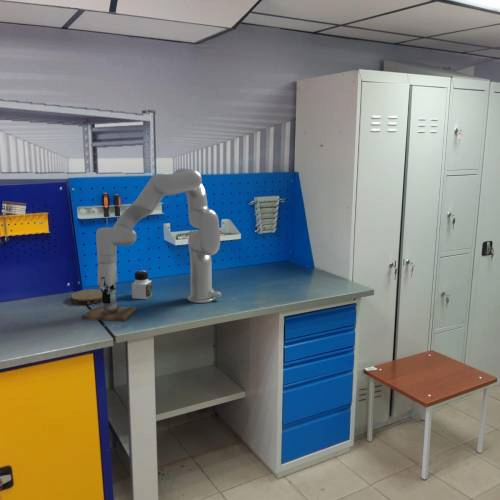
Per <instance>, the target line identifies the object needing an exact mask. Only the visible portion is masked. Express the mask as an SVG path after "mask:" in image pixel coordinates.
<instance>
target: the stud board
mask: <svg viewBox="0 0 500 500" xmlns="http://www.w3.org/2000/svg"><path fill="white" fill-rule="evenodd" d="M137 310H138V307H137V306H136V307H134V306H118V301H117V300H116V303H114V304H104V303H103V302H102V303H101V305H95V306H93V308H91V309H89V311H87V312H86V313H84V314H83V315H81V319H82V320H93V321H94V320H95V321H114V320H116V322H118V321H119V322H126V321H127V320H128V319H129V318H130V317H131V316H132V315H133V314H134V313H136V311H137Z"/></svg>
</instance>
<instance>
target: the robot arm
mask: <svg viewBox="0 0 500 500" xmlns="http://www.w3.org/2000/svg"><path fill="white" fill-rule="evenodd" d="M202 178H203V177H202V175H201V174H200V172H199V171H197V170H195V169H192V168H191V169H190V168H185V167H183V168H177V169H175V171H174V172H173V173H169V174H167V173H166V174H165V173H156V174H153V175H152V176H151V178H150V179H149V180H148V182H147V183H146V185H145V186H144V188H143V189H142V191H141V192H140V193H139V195H138V196H137V198H136V199H135V200H134V202H132V204H130V205H129V206H128V207H127V208H126V209H125V210H124V211H123V212H122V213H121V215H120V216H119V217H118V219H117V220H116V222H115V223H114V224H113V226H112V227H100V228H98V229H97V230H96V232H95V235H96V239H95V240H96V251H97V255H96V256H97V287H99V290H101V292H102V301H103V303H106V304H110V303H111V301H110V294H109V289H115V290H117V282H118V268H117V262H118V258H117V246H126V247H127V246H131V245H133V244H134V243H135V242H136V240H137V233H136V231H135V230H134V227H135V226H136V225H137V223H138V222H139V221H140V220H142V219H144V218H146V217H148V216H150V215H151V214H152V213H154V212H155V210H156V208H157V207H158V206H159V204H160V203H161V202H162V199H163V198H164V196H173V195H179V194H182V193H185V195H186V199H187V207H188V208H187V209H188V210H187V211H188V220H189V224H190V225H191V226H192V227H193V228H196V230H194V231H193V232H192V233H190V235H189V237H188V239H187V240H188V241H187V243H188V250H189V261H190V263H189V264H190V265H189V266H190V267H189V268H190V294H189V295H188V296H187V301H189V302H191V303H197V304H198V303H199V304H205V303H211V302H213V301H215V300H216V297H217V298H219V297H222V292H220V291H217V290H216V291H215V290H214V287H212V286H213V285H212V284H213V282H212V281H213V280H212V279H213V277H212V276H213V275H212V272H213V271H212V270H213V269H212V265H213V264H212V256H214V255H216V254H217V253H218V251H219V250H220V246H221V233H220V231H221V230H220V229H221V228H220V220H219V216H218V214H217V213H216V211H214V210H213V209H212V208H209V205H208V199H207V193H206V192H207V191H206V188H205V186H204V185H203V179H202ZM197 229H198V230H197ZM106 289H107V290H106Z"/></svg>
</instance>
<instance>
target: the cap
mask: <svg viewBox="0 0 500 500" xmlns="http://www.w3.org/2000/svg"><path fill="white" fill-rule="evenodd" d="M105 289H106V290H107V288H105ZM109 294H110V301H111V303H110V304H114V303H116V301H117V289H109ZM104 304H106V303H104Z"/></svg>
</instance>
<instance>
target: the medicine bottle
mask: <svg viewBox="0 0 500 500" xmlns="http://www.w3.org/2000/svg"><path fill="white" fill-rule="evenodd" d="M152 282H153V281H152V280H150V279H149V272H148V271H146V270H137V271H136V272H134V281H133V282H132V283H130V284H131V299H139V300H147V299H148V298H150V297H151V296H152V295H153V283H152Z"/></svg>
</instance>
